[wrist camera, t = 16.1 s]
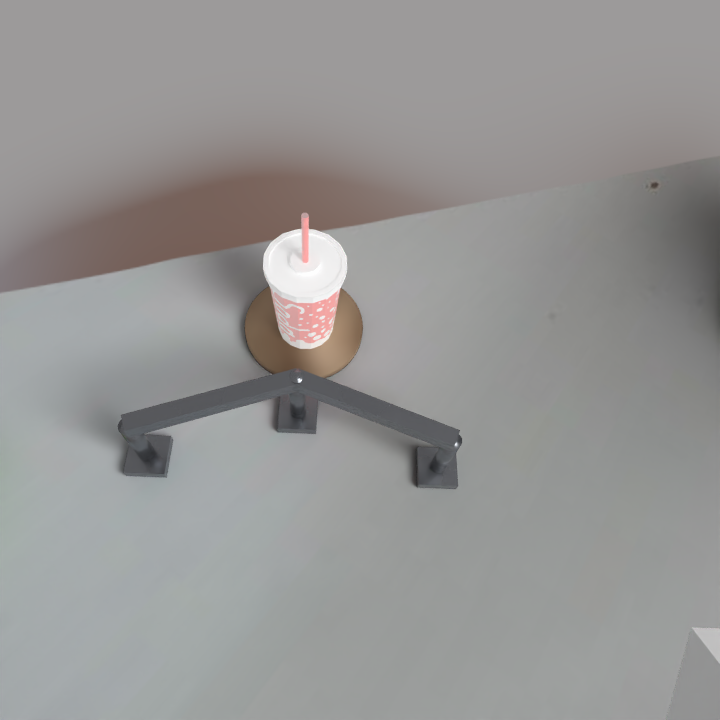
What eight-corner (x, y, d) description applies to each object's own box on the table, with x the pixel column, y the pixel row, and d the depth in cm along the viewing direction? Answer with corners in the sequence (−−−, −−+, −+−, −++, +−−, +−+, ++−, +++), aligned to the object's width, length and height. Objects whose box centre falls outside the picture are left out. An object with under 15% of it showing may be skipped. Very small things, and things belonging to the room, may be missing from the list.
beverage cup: (255, 316, 52) (239, 203, 39) (316, 284, 54) (318, 167, 41) (294, 370, 50) (290, 268, 37) (355, 334, 52) (370, 227, 39)
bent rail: (451, 405, 50) (472, 364, 44) (455, 489, 47) (479, 458, 40) (143, 390, 49) (117, 346, 42) (126, 475, 46) (95, 441, 39)
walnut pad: (362, 284, 55) (363, 279, 54) (360, 384, 51) (361, 380, 50) (251, 278, 55) (251, 273, 54) (239, 378, 50) (238, 374, 49)
